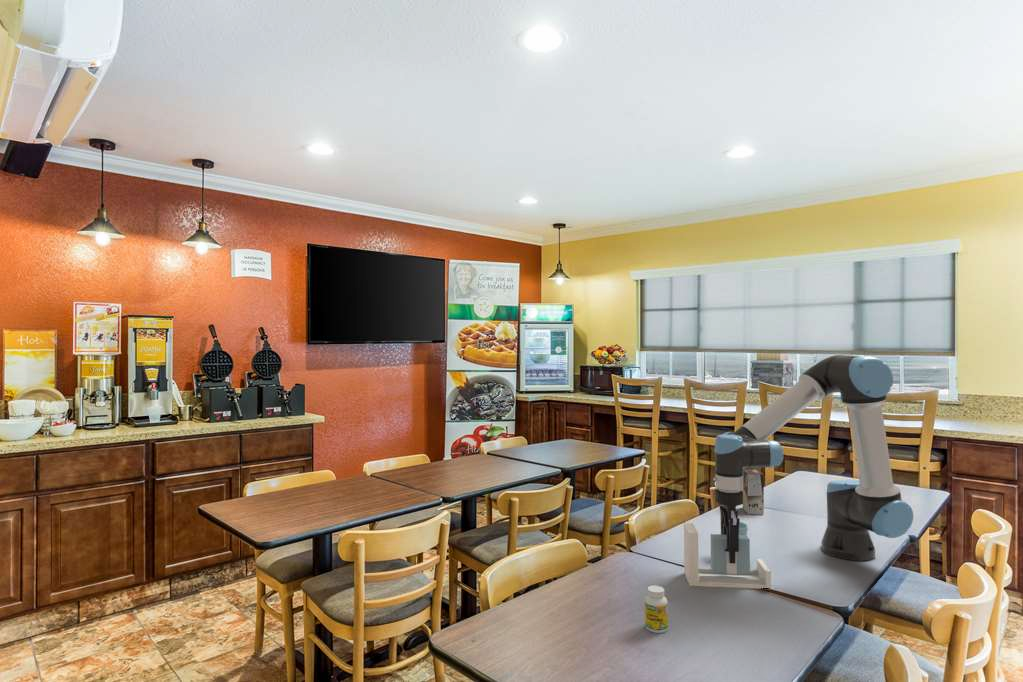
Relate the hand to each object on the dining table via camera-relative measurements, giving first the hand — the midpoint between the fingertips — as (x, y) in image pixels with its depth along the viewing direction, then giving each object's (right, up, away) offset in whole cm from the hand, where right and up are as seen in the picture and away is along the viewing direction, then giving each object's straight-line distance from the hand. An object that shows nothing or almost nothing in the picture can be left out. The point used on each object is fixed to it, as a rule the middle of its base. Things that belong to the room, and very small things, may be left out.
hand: (729, 570), depth 169 cm
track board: (-1, -3, 0) cm, 3 cm away
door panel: (0, 0, 0) cm, 0 cm away
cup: (+8, -3, +18) cm, 20 cm away
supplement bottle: (-28, -4, -27) cm, 39 cm away
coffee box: (+34, -2, +66) cm, 74 cm away
